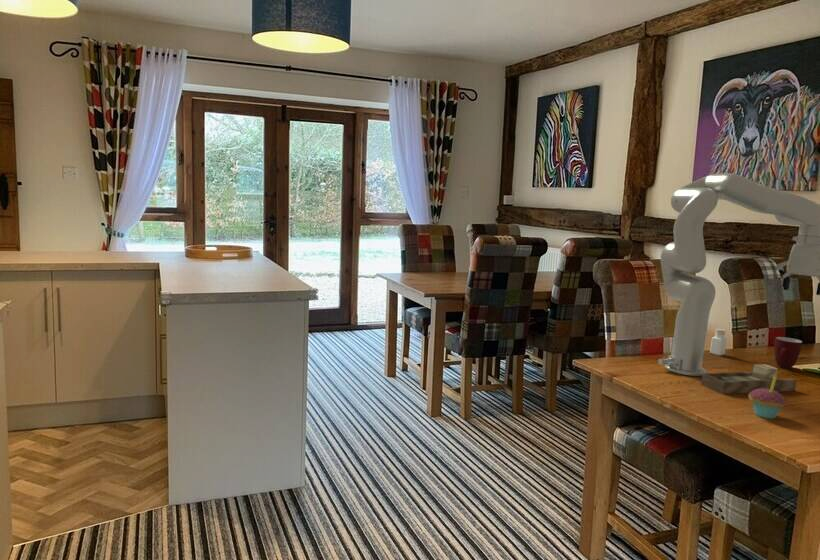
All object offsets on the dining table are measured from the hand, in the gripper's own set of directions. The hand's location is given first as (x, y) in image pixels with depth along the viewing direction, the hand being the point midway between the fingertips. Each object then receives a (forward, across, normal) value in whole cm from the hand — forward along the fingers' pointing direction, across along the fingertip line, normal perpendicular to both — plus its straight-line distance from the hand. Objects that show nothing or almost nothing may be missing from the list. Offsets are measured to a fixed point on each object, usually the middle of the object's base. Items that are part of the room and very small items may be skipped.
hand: (802, 292), depth 200 cm
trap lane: (+28, -1, -33) cm, 43 cm away
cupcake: (+28, +11, -56) cm, 64 cm away
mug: (+28, -3, +5) cm, 29 cm away
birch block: (+26, +1, -28) cm, 38 cm away
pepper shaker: (+28, -24, +2) cm, 37 cm away
